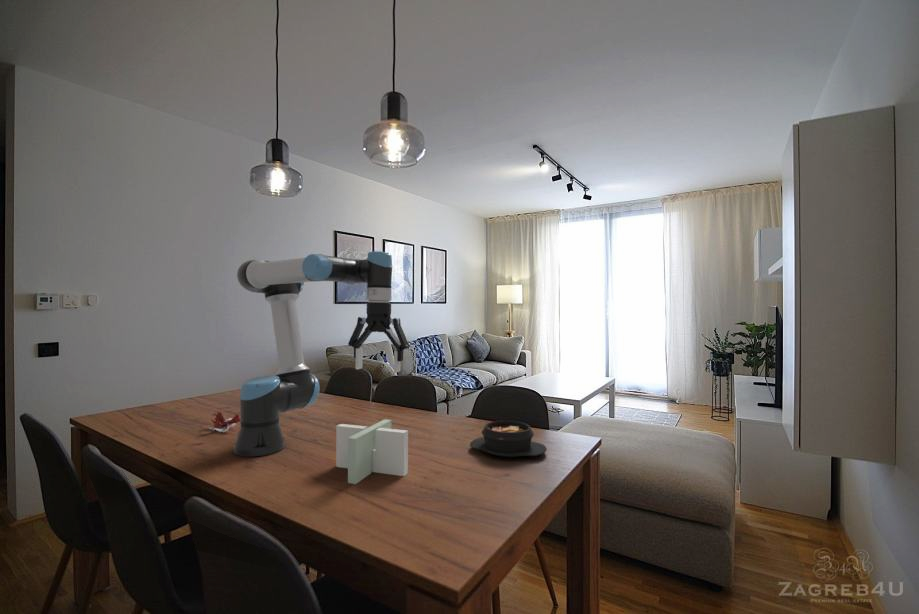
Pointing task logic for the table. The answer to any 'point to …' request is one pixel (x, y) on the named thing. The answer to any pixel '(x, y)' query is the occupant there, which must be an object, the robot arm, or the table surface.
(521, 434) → the casserole
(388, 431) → the white board
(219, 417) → the figurine
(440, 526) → the table surface
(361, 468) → the green board
